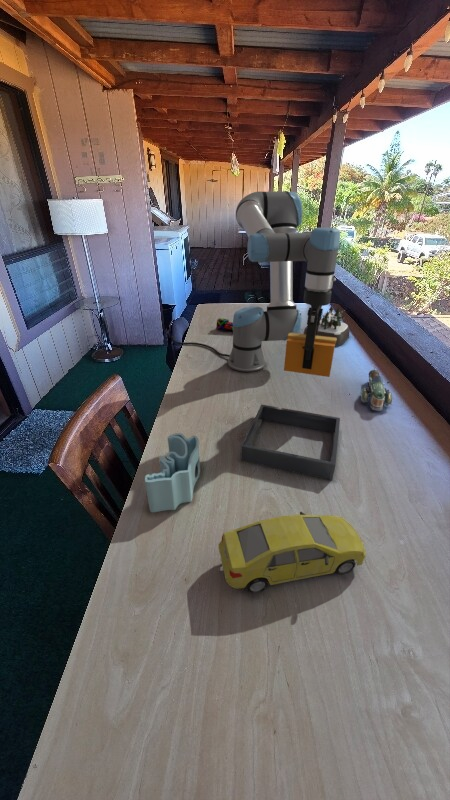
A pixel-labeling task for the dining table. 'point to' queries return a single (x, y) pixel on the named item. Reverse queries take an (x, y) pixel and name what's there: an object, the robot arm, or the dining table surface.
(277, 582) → the toy car
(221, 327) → the sculpture
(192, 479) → the squiggly pen holder
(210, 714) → the dining table surface
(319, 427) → the rectangular frame
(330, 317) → the miniature diorama
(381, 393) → the hoverbike
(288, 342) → the orange striped block
